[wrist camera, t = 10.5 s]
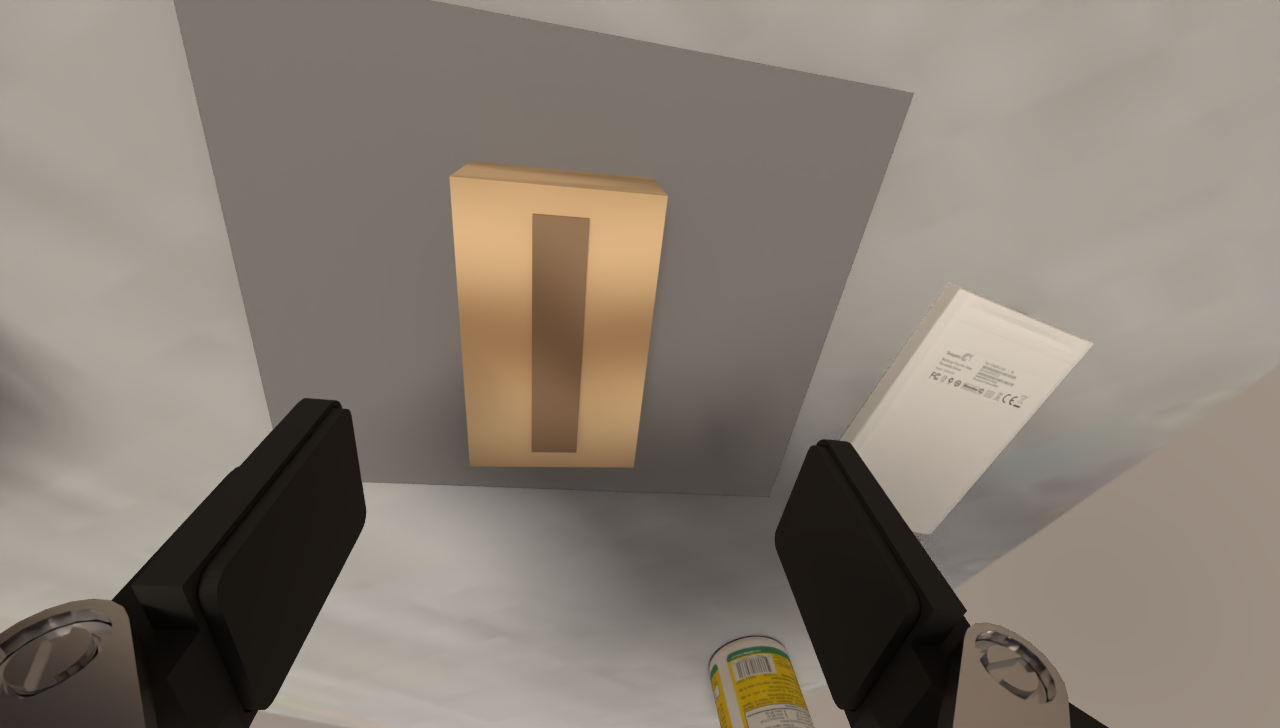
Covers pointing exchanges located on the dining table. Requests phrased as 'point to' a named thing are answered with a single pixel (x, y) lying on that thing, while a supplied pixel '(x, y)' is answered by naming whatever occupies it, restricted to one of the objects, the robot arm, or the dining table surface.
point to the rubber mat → (537, 137)
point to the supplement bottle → (757, 686)
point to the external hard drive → (957, 400)
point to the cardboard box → (554, 311)
